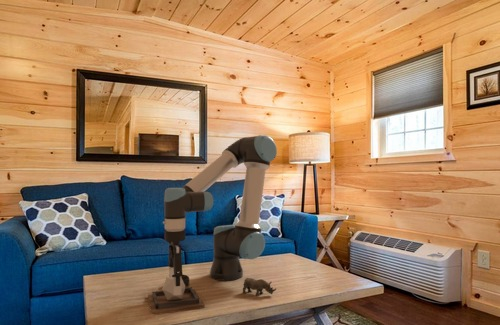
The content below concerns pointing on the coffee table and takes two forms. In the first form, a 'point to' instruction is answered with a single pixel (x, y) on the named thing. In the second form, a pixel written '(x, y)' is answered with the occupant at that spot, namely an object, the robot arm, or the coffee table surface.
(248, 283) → the rhino figurine
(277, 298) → the coffee table surface
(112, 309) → the coffee table surface
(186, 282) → the smart speaker
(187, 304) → the board
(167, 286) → the die
